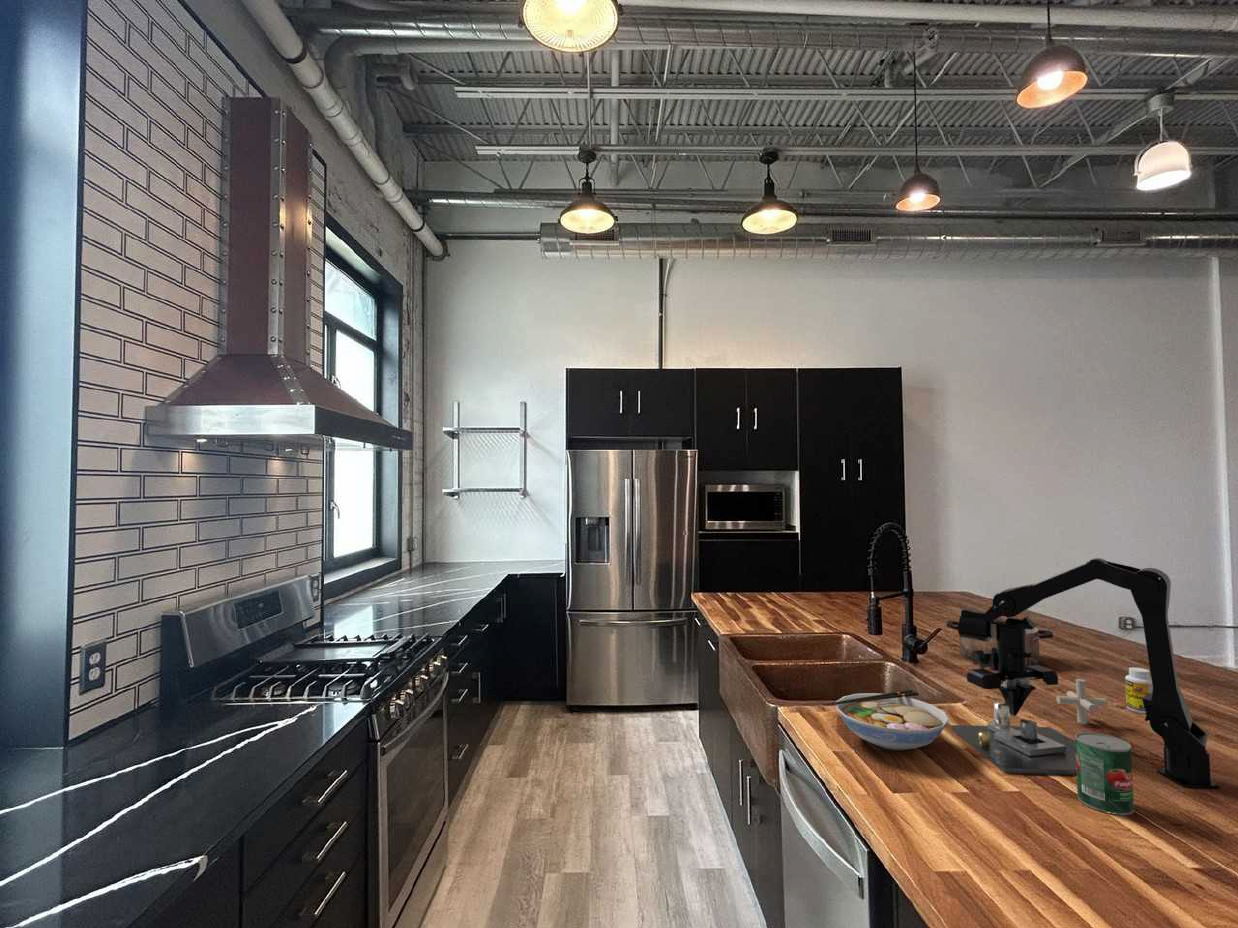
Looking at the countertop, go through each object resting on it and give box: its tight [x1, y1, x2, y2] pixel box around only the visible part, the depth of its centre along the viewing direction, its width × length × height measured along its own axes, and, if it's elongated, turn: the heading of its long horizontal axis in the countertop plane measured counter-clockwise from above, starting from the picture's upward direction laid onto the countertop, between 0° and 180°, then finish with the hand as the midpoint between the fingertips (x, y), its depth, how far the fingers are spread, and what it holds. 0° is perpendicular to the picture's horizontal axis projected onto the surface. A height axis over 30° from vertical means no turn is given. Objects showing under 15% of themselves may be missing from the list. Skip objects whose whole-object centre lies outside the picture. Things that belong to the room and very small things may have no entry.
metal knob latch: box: [986, 701, 1066, 756], centre depth 132 cm, size 14×9×6 cm, turn 12°
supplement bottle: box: [1124, 667, 1153, 715], centre depth 153 cm, size 6×6×10 cm
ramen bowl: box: [822, 689, 950, 752], centre depth 133 cm, size 25×23×8 cm
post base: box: [951, 719, 1077, 776], centre depth 129 cm, size 22×22×6 cm
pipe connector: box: [1056, 678, 1108, 725], centre depth 145 cm, size 10×10×10 cm
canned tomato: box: [1074, 731, 1135, 816], centre depth 108 cm, size 8×8×11 cm
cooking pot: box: [945, 620, 1054, 666], centre depth 201 cm, size 30×22×11 cm
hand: (1013, 715), depth 137 cm, fingers closed
